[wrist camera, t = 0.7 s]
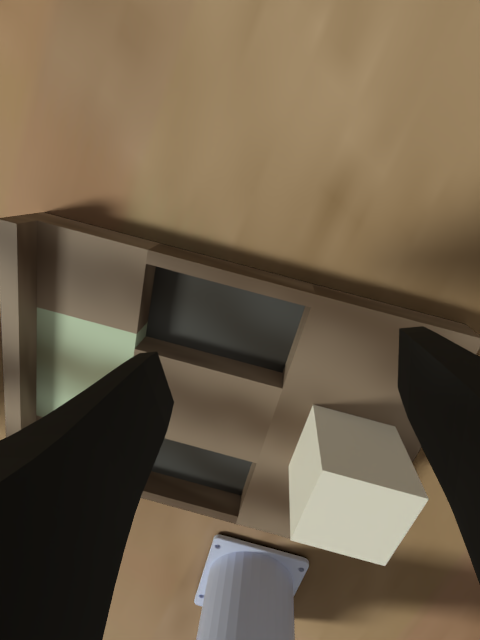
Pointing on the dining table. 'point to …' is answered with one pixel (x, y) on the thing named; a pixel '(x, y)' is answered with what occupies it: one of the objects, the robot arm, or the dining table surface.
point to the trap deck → (198, 355)
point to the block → (352, 486)
